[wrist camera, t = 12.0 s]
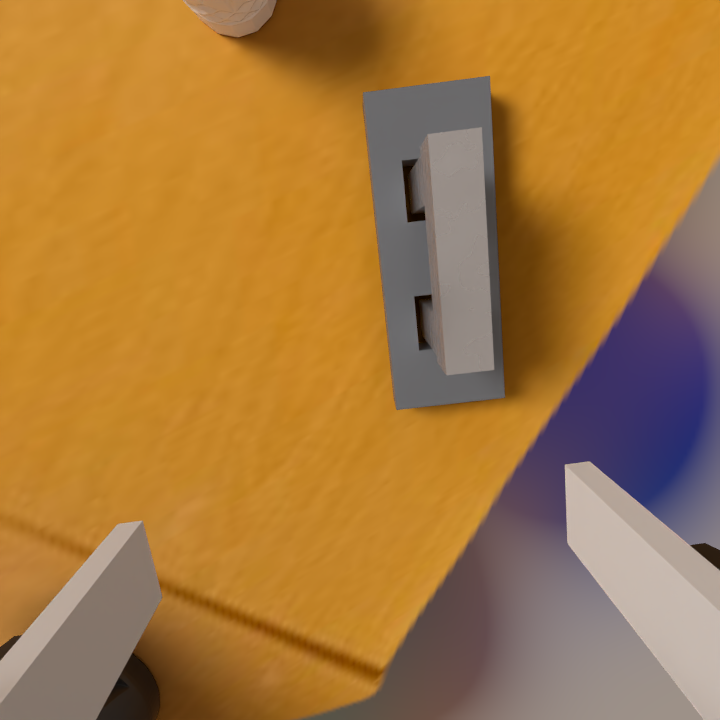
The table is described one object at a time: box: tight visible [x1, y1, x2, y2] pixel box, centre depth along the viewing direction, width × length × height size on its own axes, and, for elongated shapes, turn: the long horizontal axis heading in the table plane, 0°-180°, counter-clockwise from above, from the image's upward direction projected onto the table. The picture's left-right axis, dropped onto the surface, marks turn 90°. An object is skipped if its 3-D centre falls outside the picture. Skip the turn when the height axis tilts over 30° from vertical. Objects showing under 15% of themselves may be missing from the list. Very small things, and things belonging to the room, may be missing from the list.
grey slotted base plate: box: [363, 76, 505, 410], centre depth 37 cm, size 9×24×3 cm, turn 7°
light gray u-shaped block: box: [408, 127, 494, 375], centre depth 33 cm, size 3×14×12 cm, turn 7°
